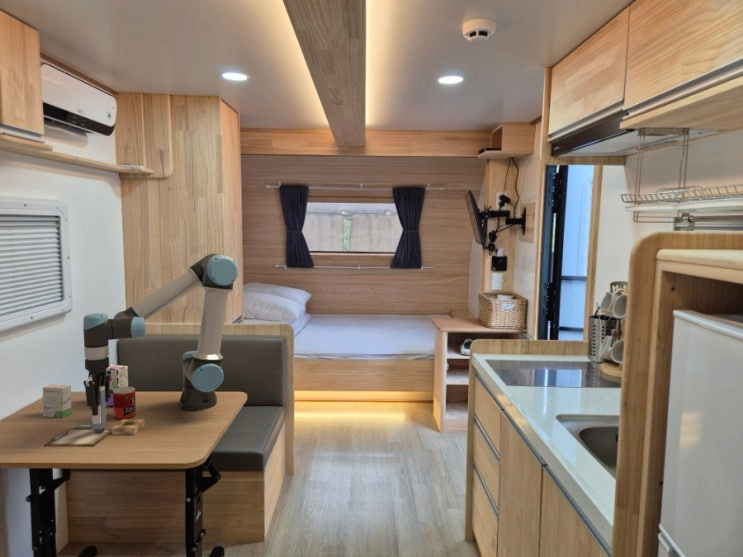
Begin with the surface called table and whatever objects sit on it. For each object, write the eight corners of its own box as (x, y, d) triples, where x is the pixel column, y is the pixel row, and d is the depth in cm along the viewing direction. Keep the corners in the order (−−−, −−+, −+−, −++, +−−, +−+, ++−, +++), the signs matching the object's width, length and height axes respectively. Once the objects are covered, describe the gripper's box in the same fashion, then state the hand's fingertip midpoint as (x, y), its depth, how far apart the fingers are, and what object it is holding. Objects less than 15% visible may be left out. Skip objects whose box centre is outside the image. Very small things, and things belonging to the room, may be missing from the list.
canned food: (127, 421, 182) (126, 393, 181) (109, 419, 184) (107, 391, 183) (140, 413, 190) (139, 387, 189) (123, 412, 191) (122, 385, 190)
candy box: (92, 404, 200) (90, 366, 198) (103, 399, 205) (102, 362, 204) (118, 407, 196) (117, 369, 194) (129, 403, 201) (128, 365, 200)
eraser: (106, 430, 171) (104, 386, 170) (102, 433, 169) (101, 388, 167) (96, 430, 171) (95, 386, 170) (92, 433, 169) (91, 388, 167)
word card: (95, 424, 179) (95, 423, 179) (89, 428, 175) (89, 427, 175) (79, 424, 179) (79, 423, 178) (73, 428, 175) (73, 427, 174)
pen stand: (144, 425, 178) (144, 419, 178) (134, 434, 170) (134, 428, 170) (123, 425, 178) (123, 419, 177) (112, 434, 170) (111, 427, 170)
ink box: (42, 417, 185) (41, 387, 184) (52, 412, 190) (51, 383, 189) (63, 418, 184) (61, 388, 183) (72, 413, 189) (71, 384, 188)
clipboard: (114, 430, 173) (114, 427, 173) (94, 446, 160) (93, 443, 160) (67, 430, 173) (67, 427, 173) (43, 446, 160) (43, 442, 160)
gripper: (98, 352, 175) (101, 413, 177) (72, 363, 160) (75, 430, 162) (119, 352, 175) (121, 413, 177) (95, 363, 160) (97, 430, 162)
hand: (99, 421), depth 170 cm, fingers closed on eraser, 2 cm apart
